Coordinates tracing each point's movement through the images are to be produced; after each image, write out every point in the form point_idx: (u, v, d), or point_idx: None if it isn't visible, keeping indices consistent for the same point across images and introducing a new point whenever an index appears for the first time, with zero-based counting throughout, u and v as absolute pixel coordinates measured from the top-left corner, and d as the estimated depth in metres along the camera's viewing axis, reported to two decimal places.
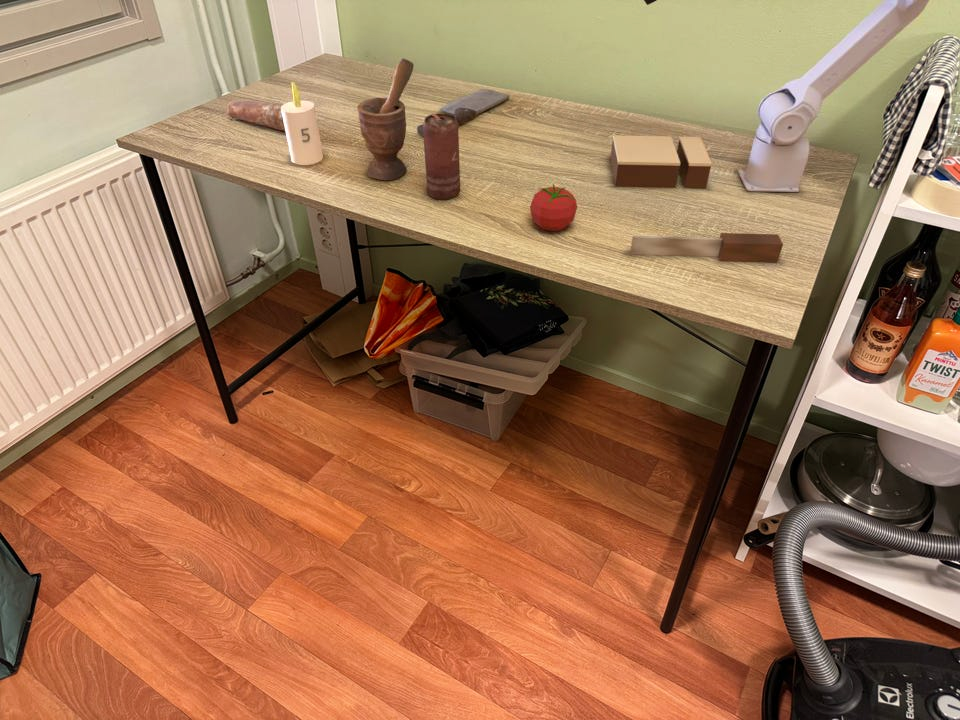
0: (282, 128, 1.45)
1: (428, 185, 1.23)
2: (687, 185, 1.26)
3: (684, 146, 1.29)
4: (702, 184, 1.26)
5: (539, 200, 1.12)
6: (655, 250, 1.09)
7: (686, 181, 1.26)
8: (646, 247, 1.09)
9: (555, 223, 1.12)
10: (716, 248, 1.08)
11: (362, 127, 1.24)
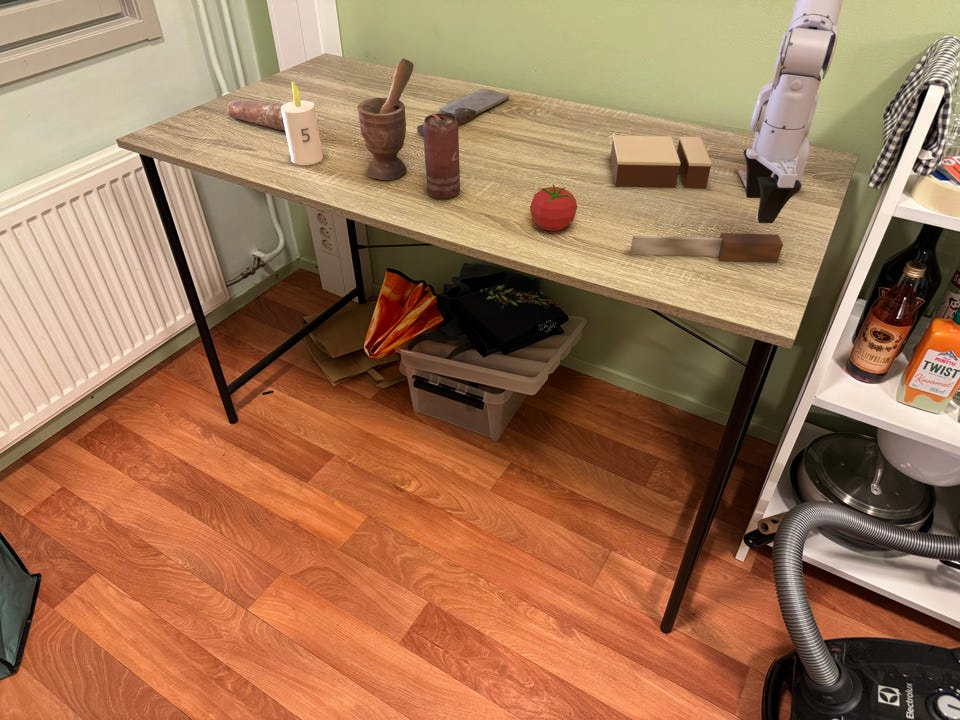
0: (282, 128, 1.45)
1: (428, 185, 1.23)
2: (687, 185, 1.26)
3: (684, 146, 1.29)
4: (702, 184, 1.26)
5: (539, 200, 1.12)
6: (655, 250, 1.09)
7: (686, 181, 1.26)
8: (646, 247, 1.09)
9: (555, 223, 1.12)
10: (716, 248, 1.08)
11: (362, 127, 1.24)
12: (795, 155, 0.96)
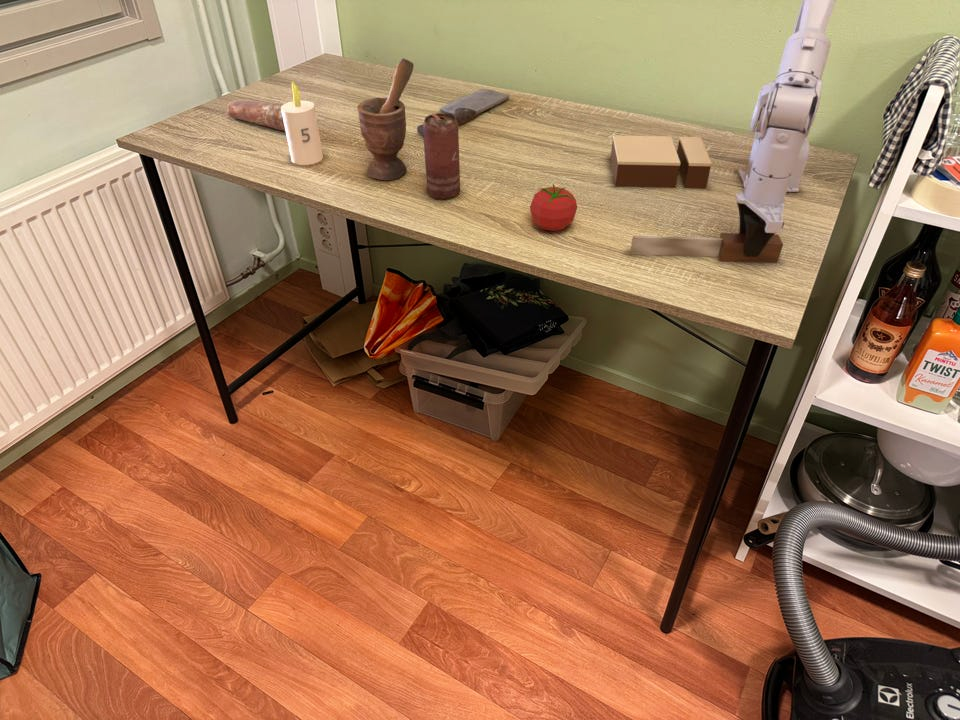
0: (282, 128, 1.45)
1: (428, 185, 1.23)
2: (687, 185, 1.26)
3: (684, 146, 1.29)
4: (702, 184, 1.26)
5: (538, 200, 1.12)
6: (655, 250, 1.09)
7: (686, 181, 1.26)
8: (646, 247, 1.09)
9: (555, 223, 1.12)
10: (716, 248, 1.08)
11: (362, 127, 1.24)
12: (782, 201, 1.00)
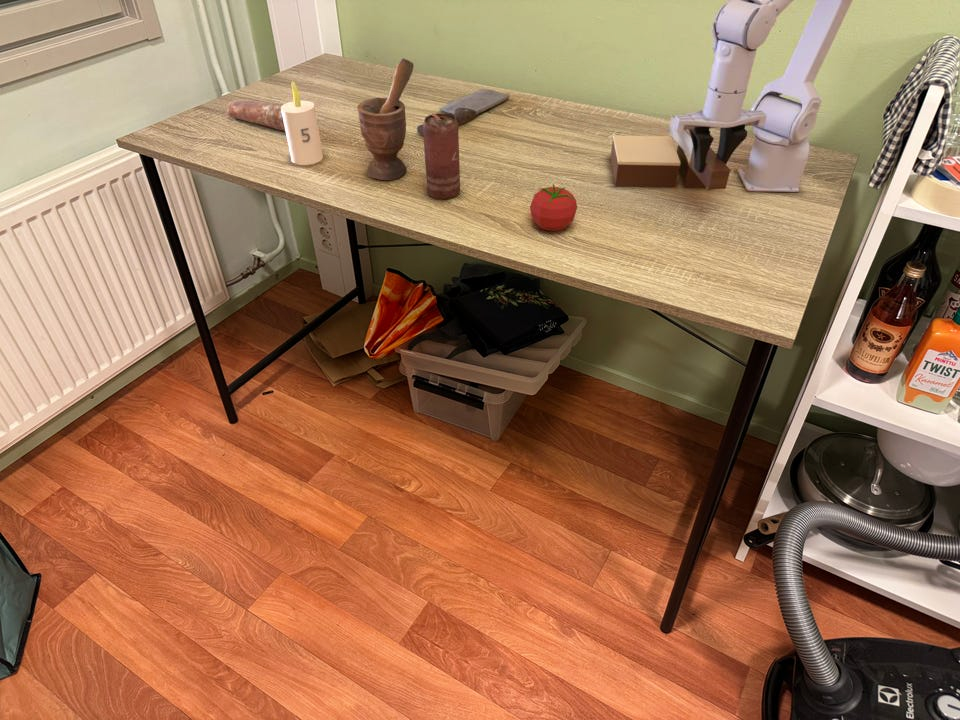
0: (282, 128, 1.45)
1: (428, 185, 1.23)
2: (687, 185, 1.26)
3: None
4: (702, 184, 1.26)
5: (538, 200, 1.12)
6: (676, 136, 1.25)
7: (686, 181, 1.26)
8: (673, 129, 1.26)
9: (555, 223, 1.12)
10: None
11: (362, 127, 1.24)
12: (715, 118, 1.06)
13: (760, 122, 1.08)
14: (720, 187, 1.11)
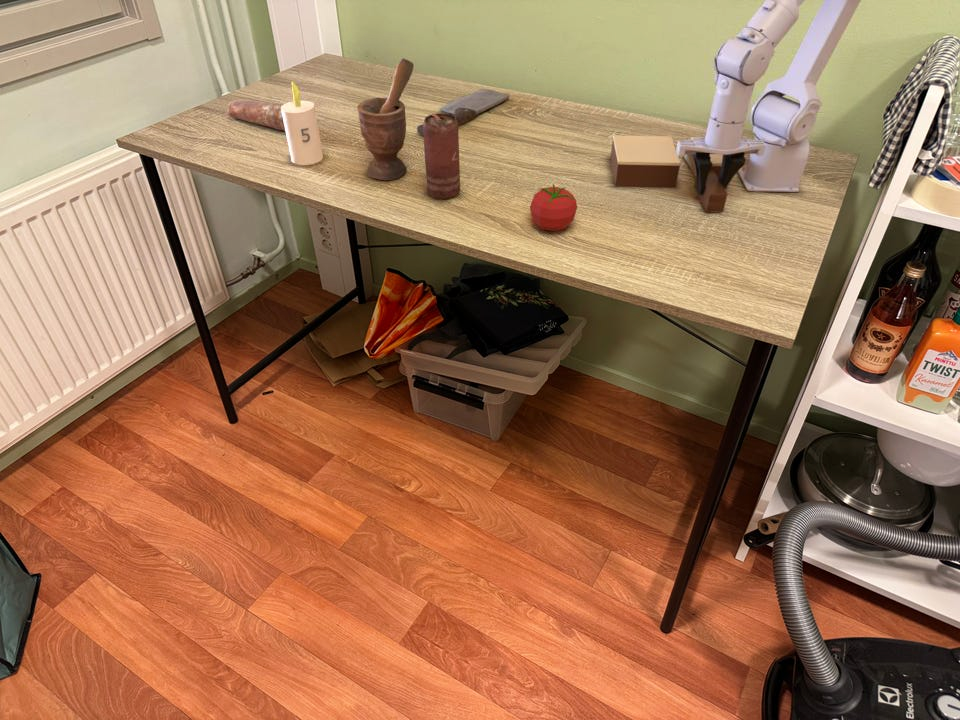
0: (282, 128, 1.45)
1: (428, 185, 1.23)
2: None
3: None
4: None
5: (538, 200, 1.12)
6: (687, 158, 1.33)
7: None
8: None
9: (555, 223, 1.12)
10: None
11: (362, 127, 1.24)
12: (714, 145, 1.14)
13: (759, 151, 1.15)
14: (718, 209, 1.19)
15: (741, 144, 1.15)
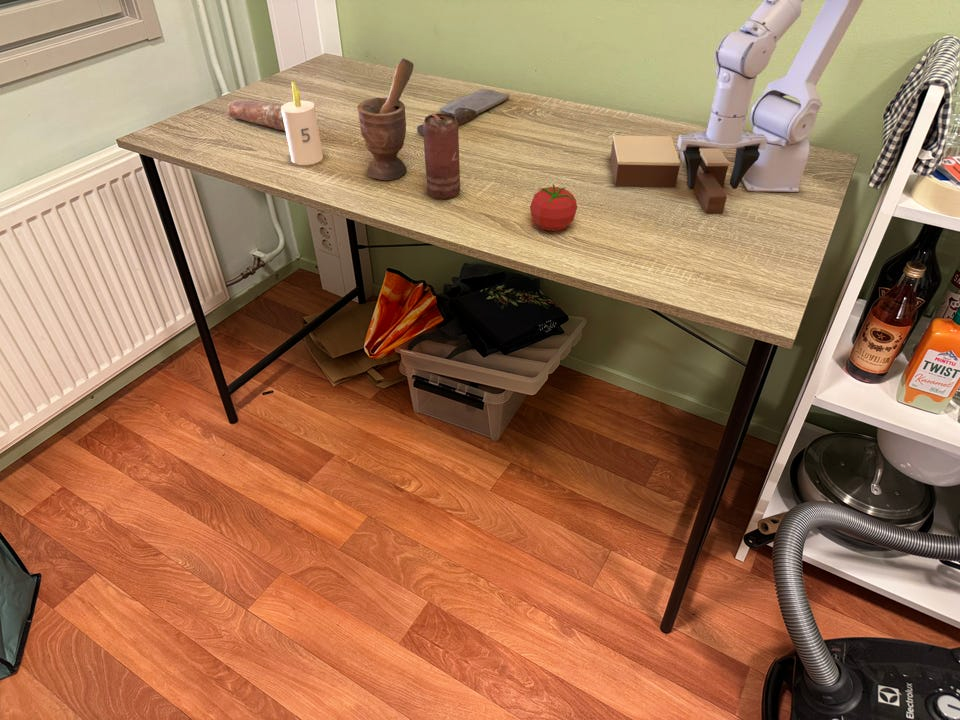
0: (282, 128, 1.45)
1: (428, 185, 1.23)
2: None
3: None
4: None
5: (538, 200, 1.12)
6: None
7: None
8: (683, 154, 1.34)
9: (555, 223, 1.12)
10: None
11: (362, 127, 1.24)
12: (715, 140, 1.13)
13: (761, 145, 1.15)
14: (717, 212, 1.19)
15: (743, 138, 1.15)
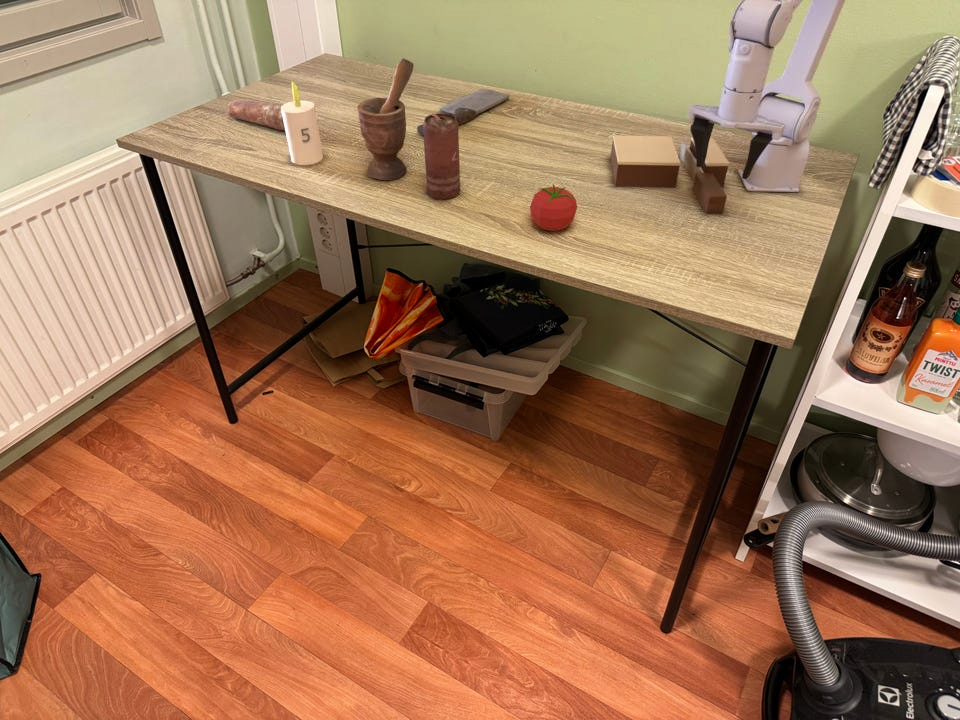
0: (282, 128, 1.45)
1: (428, 185, 1.23)
2: None
3: None
4: None
5: (538, 200, 1.12)
6: (685, 161, 1.33)
7: None
8: (683, 154, 1.34)
9: (555, 223, 1.12)
10: None
11: (362, 127, 1.24)
12: None
13: None
14: (717, 212, 1.19)
15: None
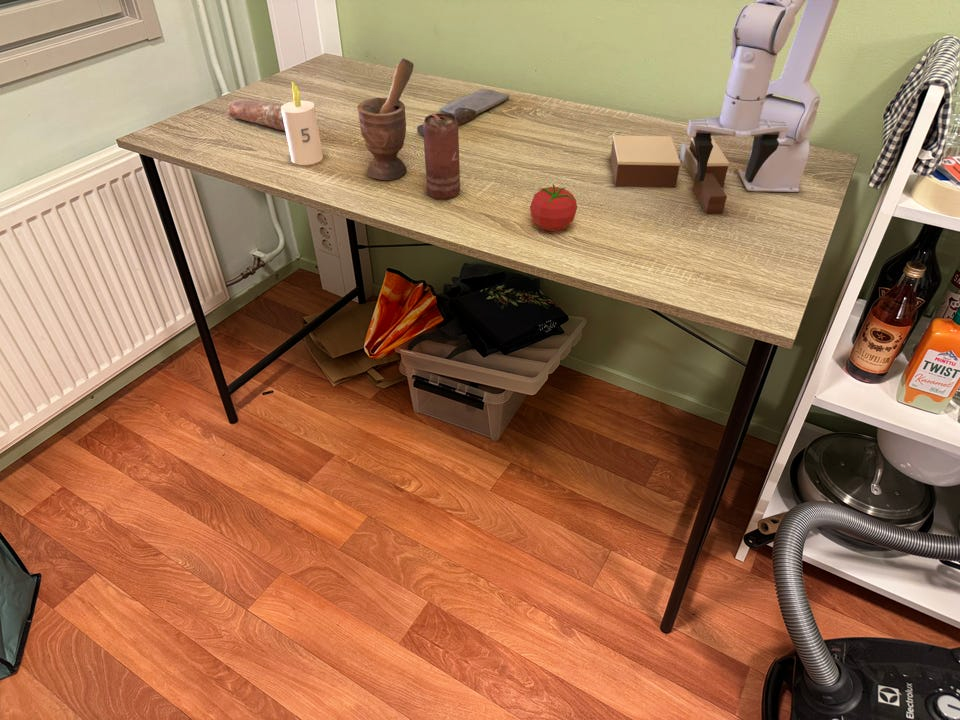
0: (282, 128, 1.45)
1: (428, 185, 1.23)
2: None
3: None
4: None
5: (538, 200, 1.12)
6: (685, 161, 1.33)
7: None
8: (683, 154, 1.34)
9: (555, 223, 1.12)
10: None
11: (362, 127, 1.24)
12: None
13: None
14: (717, 212, 1.19)
15: None
